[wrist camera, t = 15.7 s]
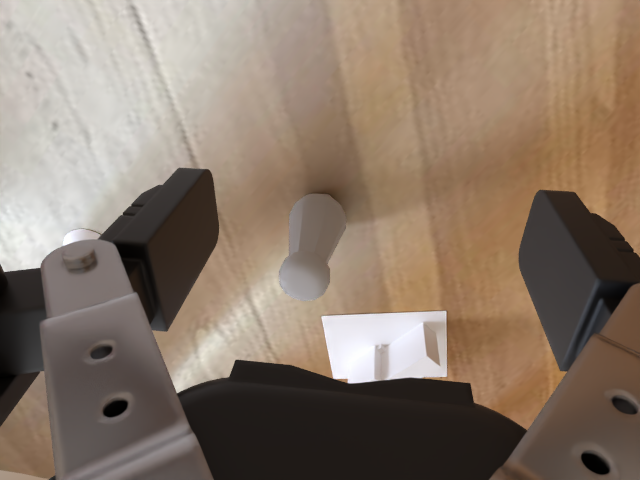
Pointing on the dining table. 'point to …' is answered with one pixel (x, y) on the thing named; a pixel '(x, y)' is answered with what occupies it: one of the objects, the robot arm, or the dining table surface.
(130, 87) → the dining table surface
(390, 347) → the napkin holder
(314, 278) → the salt shaker
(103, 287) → the robot arm
